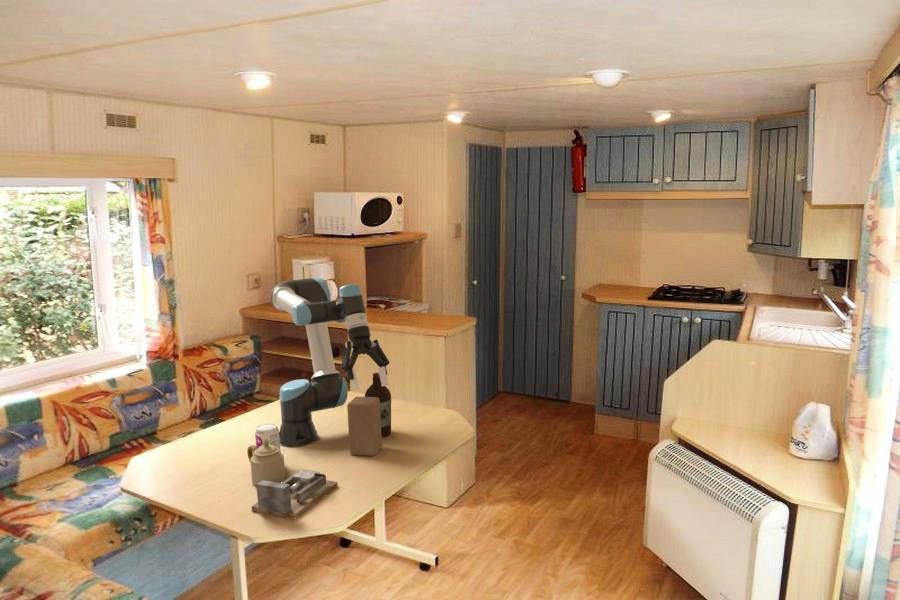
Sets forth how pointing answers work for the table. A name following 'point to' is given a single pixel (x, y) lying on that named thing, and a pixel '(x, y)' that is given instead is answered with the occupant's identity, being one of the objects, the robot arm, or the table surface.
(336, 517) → the table surface
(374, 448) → the block
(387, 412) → the olive oil
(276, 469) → the sugar bowl
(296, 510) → the gauge bed
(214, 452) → the table surface
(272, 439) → the supplement can
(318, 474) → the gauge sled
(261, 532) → the table surface
